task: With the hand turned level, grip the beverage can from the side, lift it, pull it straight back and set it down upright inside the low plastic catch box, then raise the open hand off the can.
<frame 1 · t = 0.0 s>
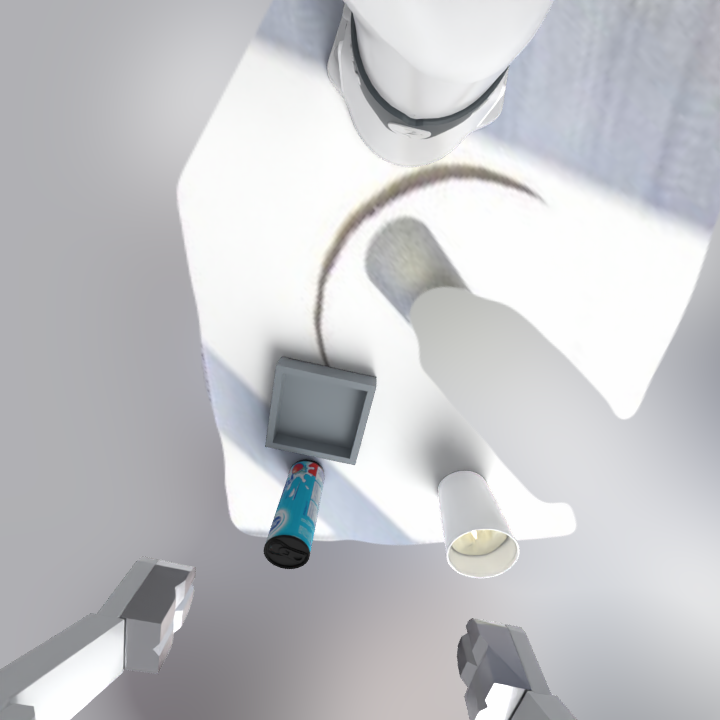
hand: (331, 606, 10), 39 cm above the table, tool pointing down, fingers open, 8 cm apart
candle holder: (462, 488, 58), on the table
beverage can: (308, 471, 58), on the table
catch box: (321, 407, 53), on the table
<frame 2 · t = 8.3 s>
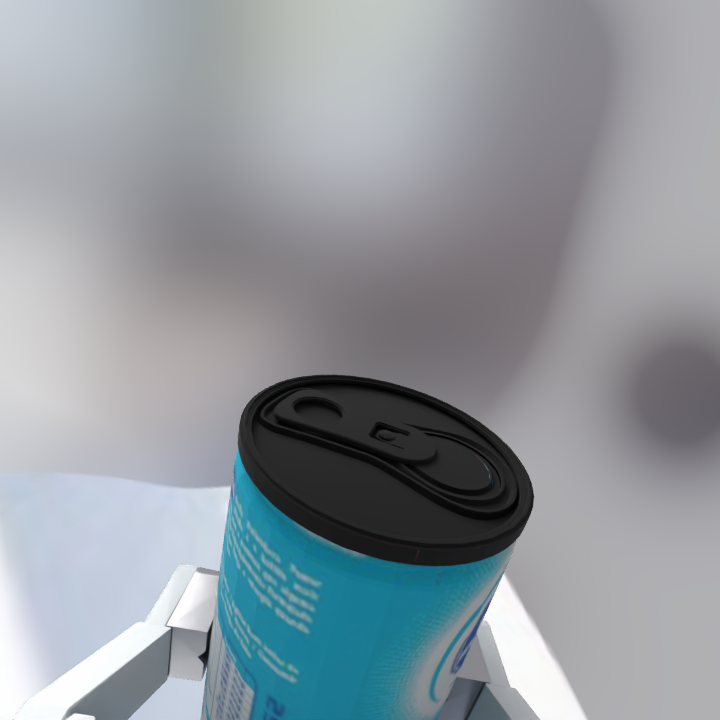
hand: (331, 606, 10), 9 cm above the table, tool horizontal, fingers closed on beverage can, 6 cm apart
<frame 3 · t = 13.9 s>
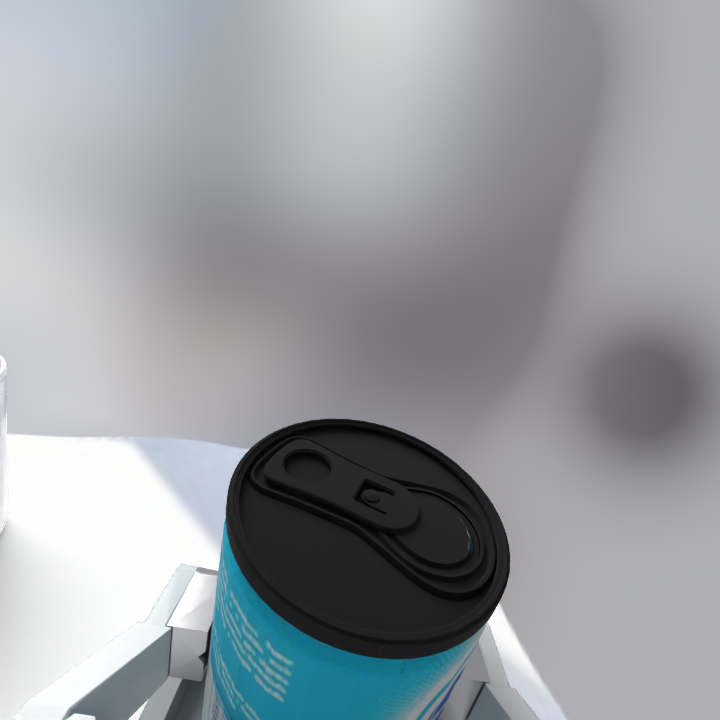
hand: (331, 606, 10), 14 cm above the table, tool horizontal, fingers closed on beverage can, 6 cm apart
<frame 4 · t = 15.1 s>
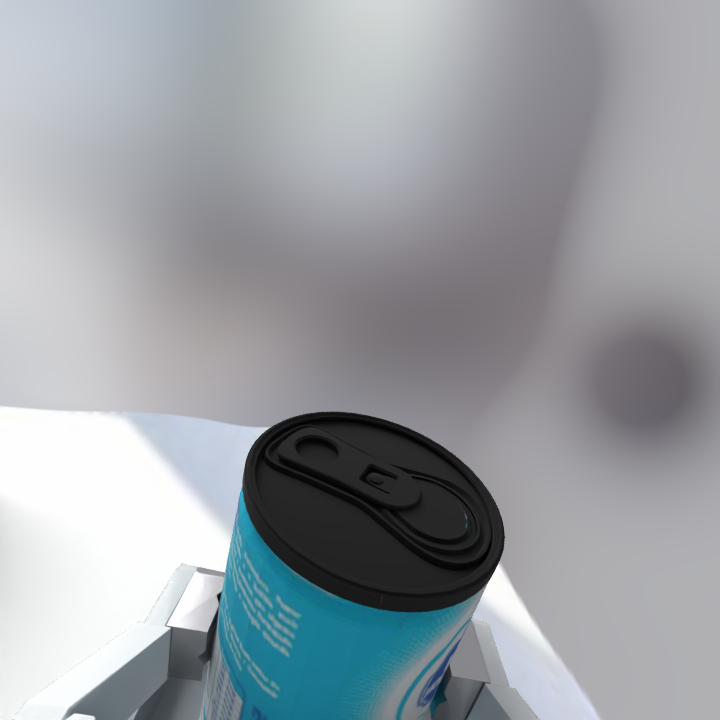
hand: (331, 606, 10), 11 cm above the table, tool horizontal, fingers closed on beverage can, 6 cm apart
when the fingers open (11 cm above the table, at t = 15.6 s): beverage can stays where it is, resting on catch box.
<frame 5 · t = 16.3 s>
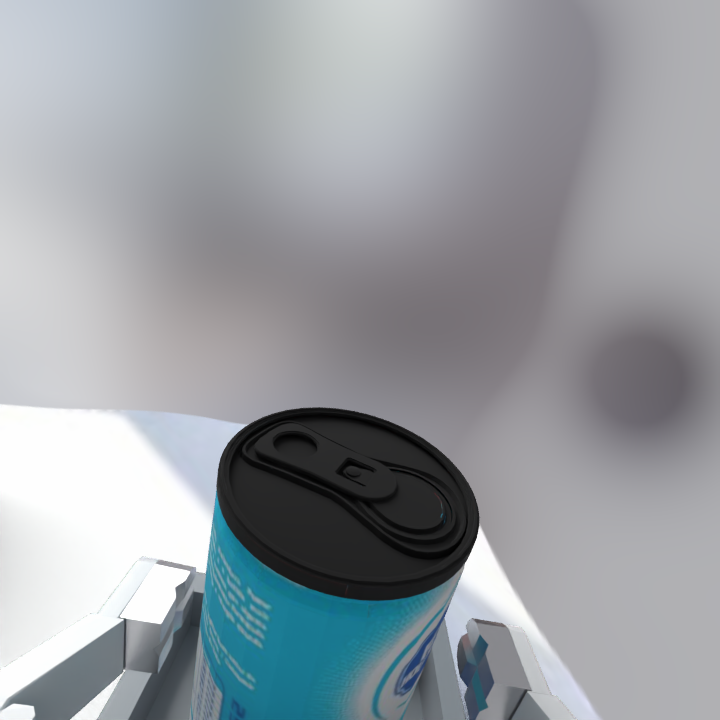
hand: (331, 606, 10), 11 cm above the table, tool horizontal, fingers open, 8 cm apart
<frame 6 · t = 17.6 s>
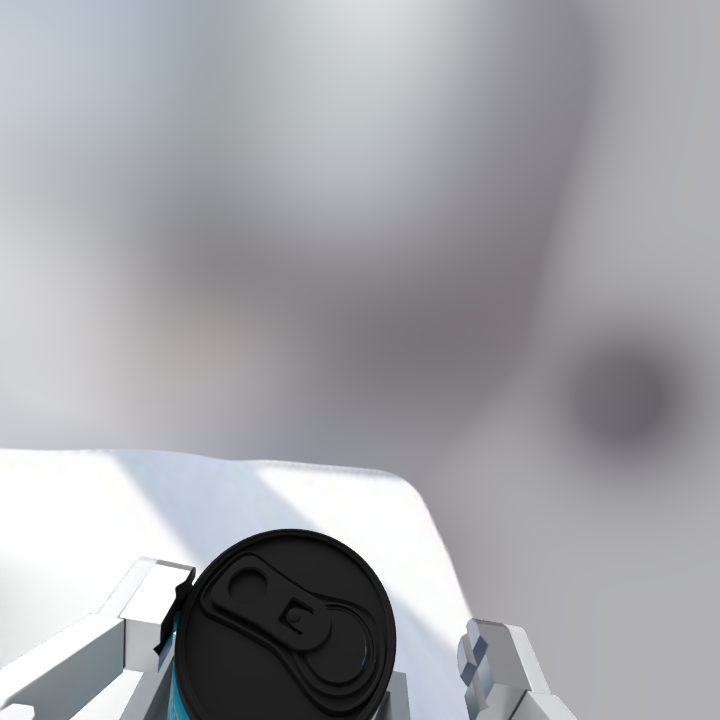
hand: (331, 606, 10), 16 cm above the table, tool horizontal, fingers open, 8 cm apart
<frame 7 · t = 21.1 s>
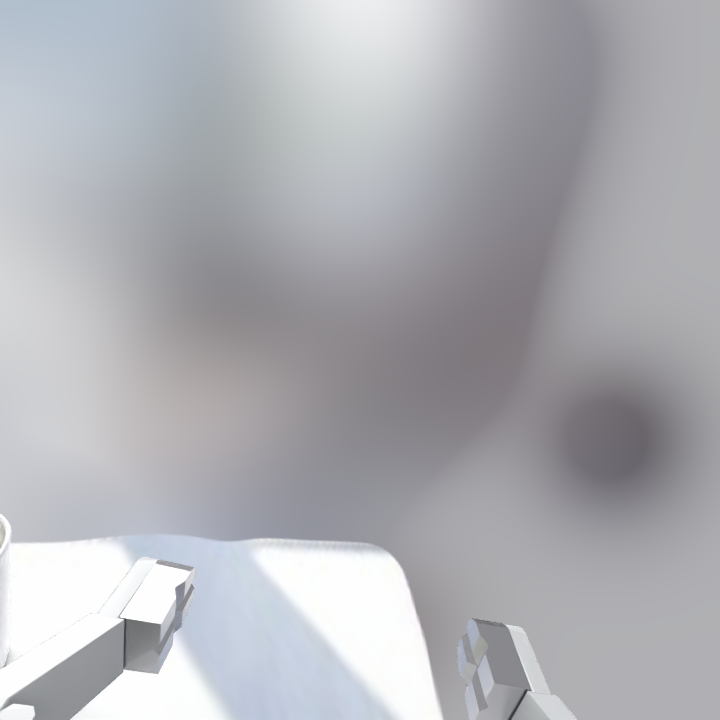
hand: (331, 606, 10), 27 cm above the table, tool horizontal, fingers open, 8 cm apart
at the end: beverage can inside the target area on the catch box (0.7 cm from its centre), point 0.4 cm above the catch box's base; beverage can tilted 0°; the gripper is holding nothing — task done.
